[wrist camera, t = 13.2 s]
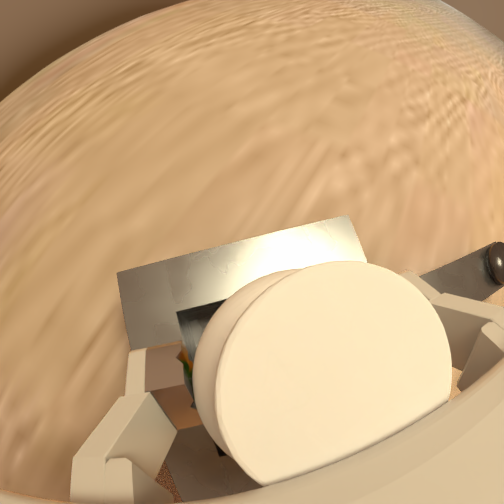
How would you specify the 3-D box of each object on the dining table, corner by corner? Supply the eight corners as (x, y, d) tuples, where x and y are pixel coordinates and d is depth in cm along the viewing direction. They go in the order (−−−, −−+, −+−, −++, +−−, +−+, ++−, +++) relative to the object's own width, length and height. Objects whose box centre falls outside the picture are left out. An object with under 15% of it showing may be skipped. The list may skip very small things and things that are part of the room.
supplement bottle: (188, 358, 13) (89, 364, 4) (276, 285, 14) (347, 161, 5) (265, 442, 12) (319, 574, 2) (349, 366, 13) (510, 365, 4)
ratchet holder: (195, 474, 14) (184, 506, 10) (142, 292, 17) (116, 272, 13) (505, 331, 18) (542, 322, 13) (462, 206, 21) (491, 182, 17)
